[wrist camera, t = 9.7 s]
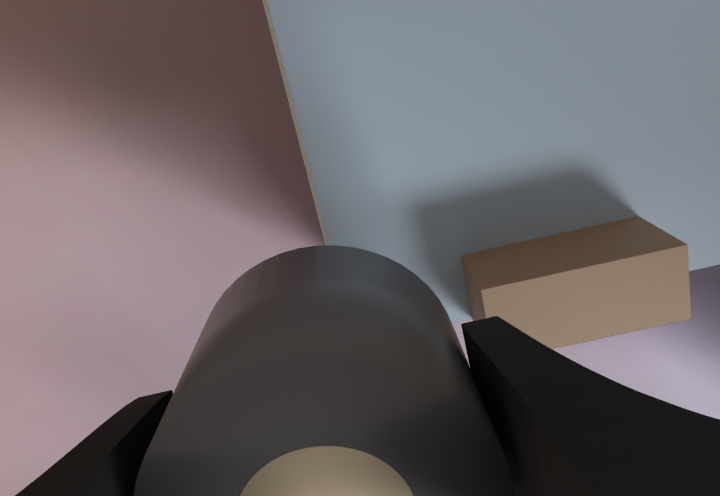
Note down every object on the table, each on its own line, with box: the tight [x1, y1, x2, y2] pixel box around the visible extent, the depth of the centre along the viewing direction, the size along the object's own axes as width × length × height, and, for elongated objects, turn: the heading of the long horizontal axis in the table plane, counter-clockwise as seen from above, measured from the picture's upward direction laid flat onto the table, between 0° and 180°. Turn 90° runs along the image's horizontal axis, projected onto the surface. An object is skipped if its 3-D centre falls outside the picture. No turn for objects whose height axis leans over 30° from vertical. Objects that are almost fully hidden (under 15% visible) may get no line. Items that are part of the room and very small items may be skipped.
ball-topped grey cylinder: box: [134, 245, 515, 496], centre depth 10 cm, size 5×5×4 cm
